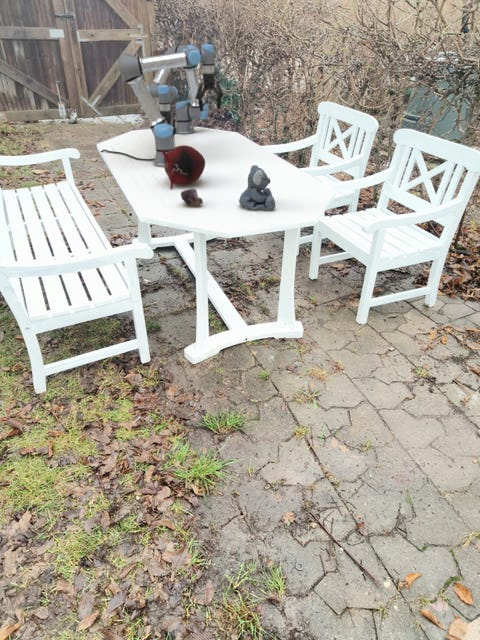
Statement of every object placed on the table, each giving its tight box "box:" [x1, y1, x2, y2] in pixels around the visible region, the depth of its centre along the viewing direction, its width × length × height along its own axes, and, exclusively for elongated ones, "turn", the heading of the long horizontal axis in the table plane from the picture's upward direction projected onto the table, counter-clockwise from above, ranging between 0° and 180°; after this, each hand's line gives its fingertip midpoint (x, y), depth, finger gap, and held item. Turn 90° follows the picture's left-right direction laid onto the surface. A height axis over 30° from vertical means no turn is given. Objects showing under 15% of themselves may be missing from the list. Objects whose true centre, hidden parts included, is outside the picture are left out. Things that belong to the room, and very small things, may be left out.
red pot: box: [161, 145, 206, 190], centre depth 256 cm, size 21×24×25 cm
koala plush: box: [238, 164, 276, 211], centre depth 224 cm, size 17×18×20 cm
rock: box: [180, 188, 204, 207], centre depth 229 cm, size 12×9×10 cm
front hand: (210, 109), depth 294 cm, fingers open, 13 cm apart
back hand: (168, 145), depth 321 cm, fingers closed on block, 6 cm apart
